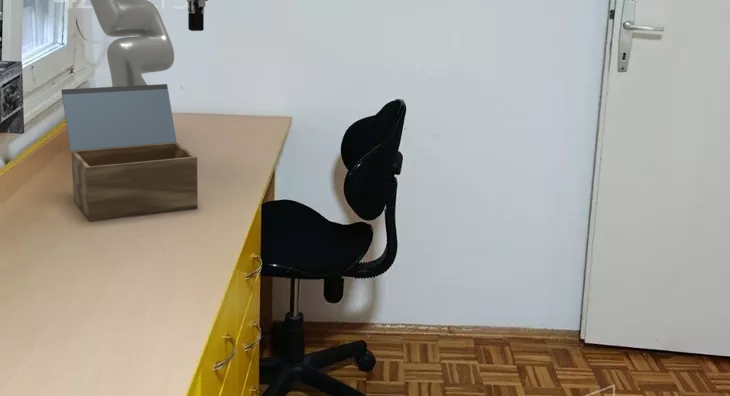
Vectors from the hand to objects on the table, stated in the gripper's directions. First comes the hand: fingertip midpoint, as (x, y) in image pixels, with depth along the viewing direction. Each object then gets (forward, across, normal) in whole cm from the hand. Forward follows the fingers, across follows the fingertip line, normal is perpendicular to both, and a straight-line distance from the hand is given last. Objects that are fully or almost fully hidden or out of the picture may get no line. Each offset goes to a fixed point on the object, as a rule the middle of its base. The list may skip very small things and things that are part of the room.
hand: (196, 30), depth 208 cm
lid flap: (+19, +4, -19) cm, 27 cm away
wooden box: (+37, +14, -18) cm, 44 cm away
